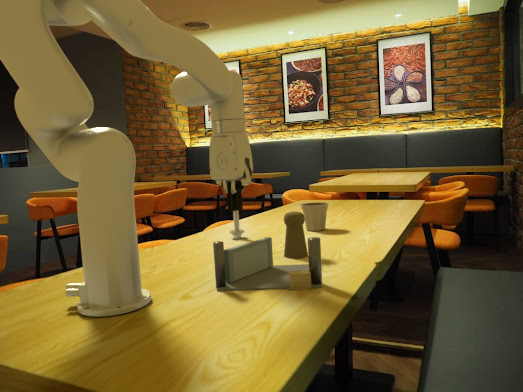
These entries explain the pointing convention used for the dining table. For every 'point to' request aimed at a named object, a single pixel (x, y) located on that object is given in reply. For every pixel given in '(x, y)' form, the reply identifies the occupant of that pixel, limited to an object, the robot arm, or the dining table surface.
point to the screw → (236, 227)
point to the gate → (248, 259)
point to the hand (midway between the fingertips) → (235, 210)
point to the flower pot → (315, 215)
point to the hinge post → (219, 264)
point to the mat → (267, 279)
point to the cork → (295, 236)
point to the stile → (314, 274)
